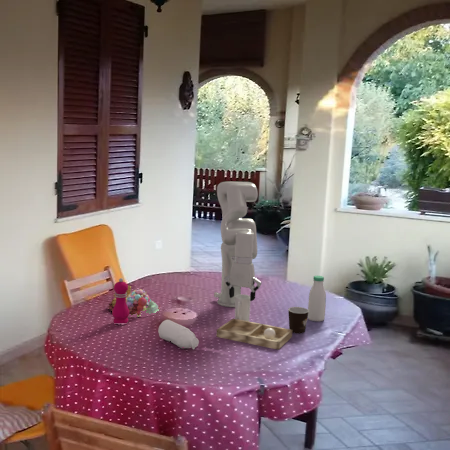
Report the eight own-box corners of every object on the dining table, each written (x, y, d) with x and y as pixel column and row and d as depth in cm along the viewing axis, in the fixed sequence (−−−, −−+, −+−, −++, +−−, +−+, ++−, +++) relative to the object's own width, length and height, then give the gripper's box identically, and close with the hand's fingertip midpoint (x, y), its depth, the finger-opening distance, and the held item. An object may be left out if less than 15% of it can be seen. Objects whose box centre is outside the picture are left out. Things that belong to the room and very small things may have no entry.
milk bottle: (324, 322, 265) (327, 279, 261) (306, 320, 266) (309, 278, 263) (324, 317, 272) (327, 275, 268) (308, 315, 274) (310, 273, 270)
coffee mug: (294, 337, 245) (295, 314, 243) (283, 330, 253) (284, 308, 251) (317, 333, 251) (318, 311, 249) (305, 327, 258) (306, 305, 256)
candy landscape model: (98, 312, 268) (98, 293, 266) (125, 298, 290) (125, 280, 288) (146, 321, 259) (146, 301, 257) (171, 306, 280) (171, 287, 279)
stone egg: (261, 340, 238) (262, 329, 237) (265, 336, 243) (266, 325, 242) (272, 342, 236) (273, 331, 235) (276, 338, 241) (277, 327, 240)
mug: (237, 319, 265) (238, 293, 263) (251, 321, 262) (252, 295, 260) (229, 326, 256) (230, 299, 253) (243, 328, 253) (245, 301, 251)
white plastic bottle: (186, 355, 223) (187, 335, 221) (157, 340, 236) (157, 321, 235) (202, 350, 228) (203, 331, 226) (173, 336, 242) (173, 317, 240)
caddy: (216, 338, 241) (216, 329, 240) (232, 326, 255) (233, 318, 254) (278, 351, 230) (279, 342, 229) (292, 338, 244) (292, 329, 243)
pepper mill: (132, 322, 256) (133, 277, 253) (122, 327, 250) (123, 281, 246) (118, 319, 259) (118, 275, 256) (108, 324, 253) (108, 278, 249)
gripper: (221, 259, 254) (220, 297, 256) (258, 264, 247) (257, 303, 249) (228, 256, 261) (227, 293, 263) (265, 260, 253) (263, 299, 256)
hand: (241, 298), depth 256 cm, fingers open, 9 cm apart
